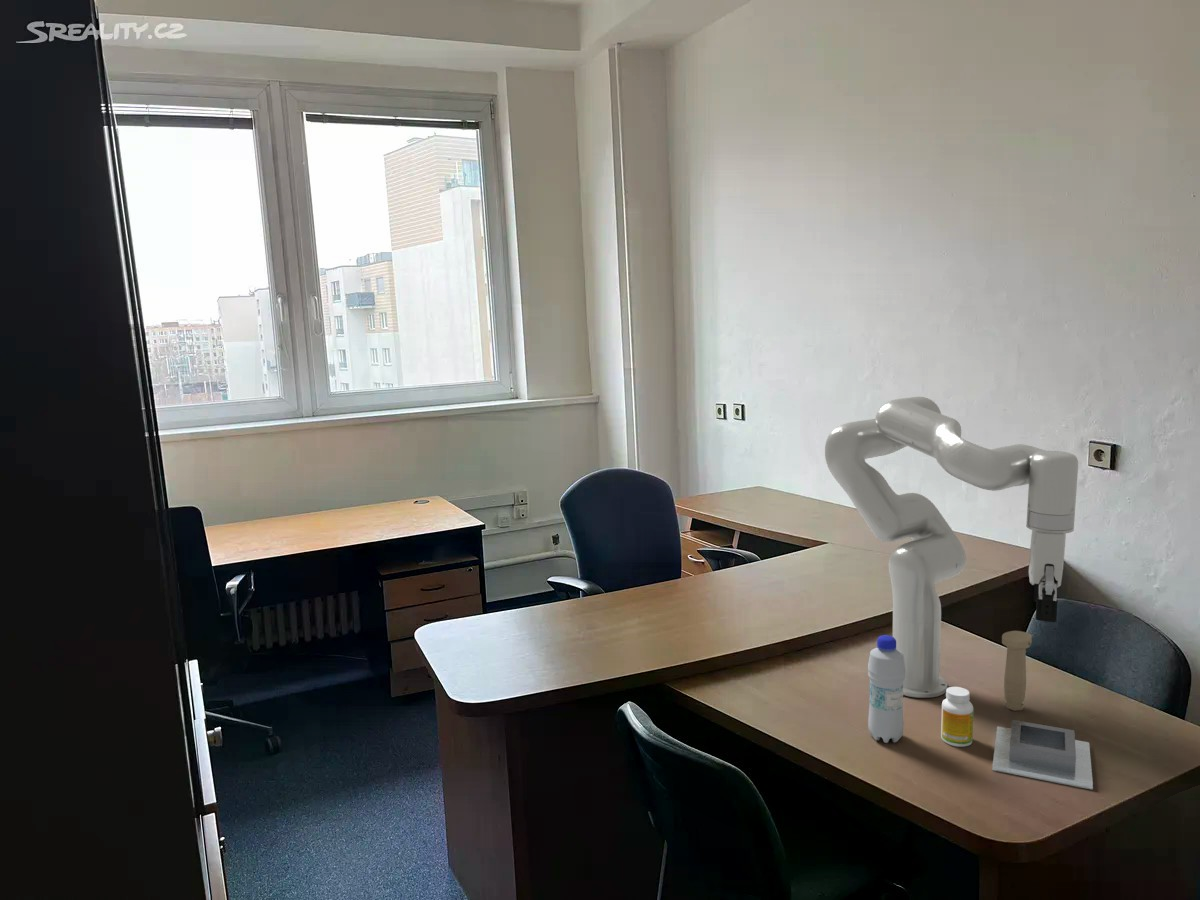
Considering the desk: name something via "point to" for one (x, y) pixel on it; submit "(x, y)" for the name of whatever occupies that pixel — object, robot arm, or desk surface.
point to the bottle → (886, 690)
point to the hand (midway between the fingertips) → (1044, 611)
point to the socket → (1043, 754)
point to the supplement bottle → (957, 717)
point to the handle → (1015, 668)
